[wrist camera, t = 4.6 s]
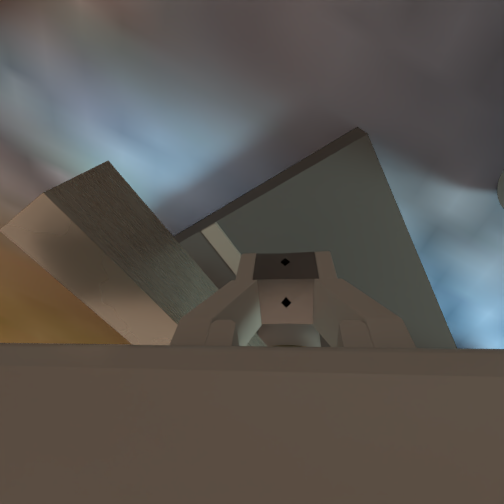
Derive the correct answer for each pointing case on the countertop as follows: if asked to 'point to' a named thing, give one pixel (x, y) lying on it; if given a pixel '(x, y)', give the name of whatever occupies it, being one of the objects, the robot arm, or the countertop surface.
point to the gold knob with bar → (113, 255)
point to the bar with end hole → (501, 189)
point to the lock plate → (326, 238)
